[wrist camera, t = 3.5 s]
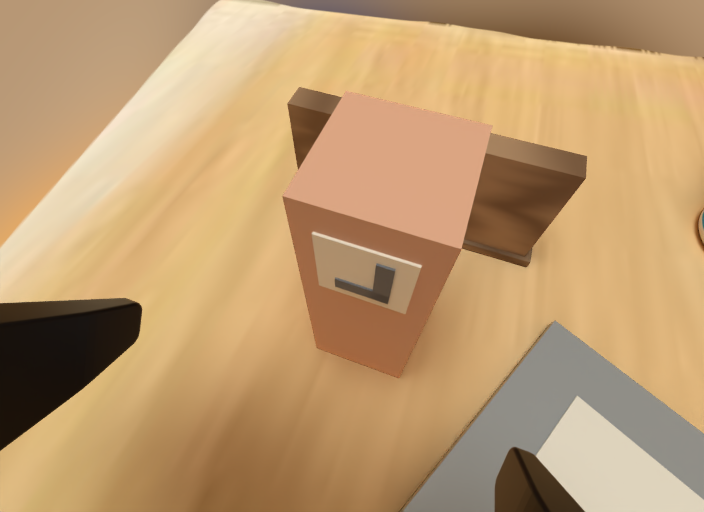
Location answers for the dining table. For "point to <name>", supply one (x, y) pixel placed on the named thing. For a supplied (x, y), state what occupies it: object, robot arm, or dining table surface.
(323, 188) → the lettered block
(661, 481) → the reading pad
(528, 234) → the screen
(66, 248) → the dining table surface
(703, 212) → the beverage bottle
